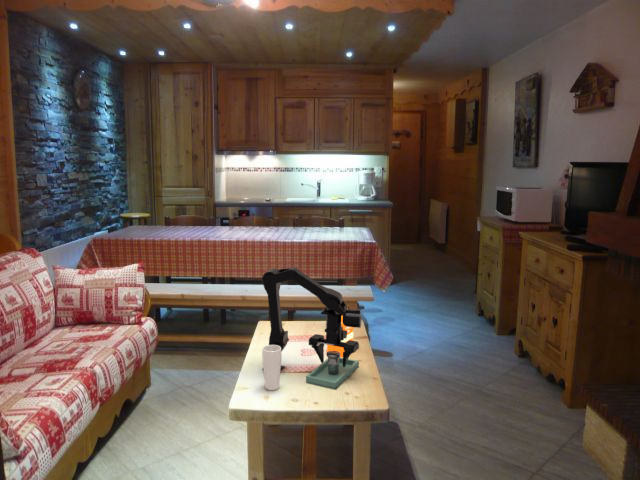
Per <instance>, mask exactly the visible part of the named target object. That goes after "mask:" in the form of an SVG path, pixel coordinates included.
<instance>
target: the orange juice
mask: <svg viewBox="0 0 640 480" xmlns="http://www.w3.org/2000/svg"><path fill="white" fill-rule="evenodd" d="M347 309H349V308H347ZM342 319H343V316H342V317H341V327H343V330H346V331H348V332H347V338H346V339H345V338H344V340H341V342H345V343H346V342H347V341H349V340H352V341H354V327H345V325H344V324H343V322H342ZM343 349H344V348H343V347H338V346H332V345H327V344H326V353H327V352H328V351H339V352H340V358H343V352H344V350H343Z"/></svg>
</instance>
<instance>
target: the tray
mask: <svg viewBox="0 0 640 480" xmlns="http://www.w3.org/2000/svg"><path fill="white" fill-rule="evenodd" d="M359 364H360V361H359V360H355V359H350V358H348V361H347V364H346V366H345V367H343V357H339V374H337V375H329V374H328V358H327V359H326V360H325V359H324V362H323V363H321V364H319V365H318V366H316V368H315V369H313V370H312V371H311V372H310V373H309V374H307V375H306V376H305V383H306V384H309V385H313V386H319V387H323V388H327V389H332V390H337V389H338V388H339V387H340V386H341V385H342V384H343V383H344V382H345V381H346V380H348V378H349V377H350V376H351V375H352V374H353V373H354V372H356V370H357V369H358V368H359V367H360V365H359Z"/></svg>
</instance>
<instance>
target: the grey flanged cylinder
mask: <svg viewBox="0 0 640 480" xmlns="http://www.w3.org/2000/svg"><path fill="white" fill-rule="evenodd" d="M326 357H327V359H328V374H329V375H337V374H339V357H340V352H339V351H328V352H327V351H326ZM340 358H341V357H340Z"/></svg>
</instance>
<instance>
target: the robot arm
mask: <svg viewBox="0 0 640 480" xmlns="http://www.w3.org/2000/svg"><path fill="white" fill-rule="evenodd" d="M290 280H291V281H293V282H295V283H296V284H297V285H299V286H300V287H302V288H303V289H305V290H307V291H308V292H310V293H311V294H312V295H314V296H315V297H316V298H318V299H319V300H320V302H321V303H322V304H323V305H324V308H323V309H322V311H321V312H320V314H321V315H326V317H325V318H326V319H325V320H326V321H325V324H326V325H325V329H324V333H325V336H324V335H323V334H317V333H315V334H313V335H312V336H311V337H309V339H308V345H309V346H311V348H312V349H313V350H314V351H315V352H316V354H317V355H316V356H318V358H319V360H320V363H321V364H322V363H323V362H324V361H325V357H324V356H325V355H324V347H325V345H326V346H327V345H332V346H338V347H343V348H344V349H343V350H344V352H343V357H342V358H343V367H345V366H346V364H347V361H348V359H350V358H349V357H350V355H352V354H355V353H356V352H357V351H358V350H359V349H360V344H359V341H355V340H353V341H352V340H349V341H347V342H346V343H345V342H341V340H344V338H345V339H346V338H347V332H348V331H346V330H343V327H341V317H342V316H343V319H342V322H343V324H344V325H345V327H353V328H357V329H361V327H362V321H363V319H362V318H363V317H362V313H361V312H362V310H361V308H356V309H355V308H348V305H347V304H346V302H345V301H344V298H343V295H342V294H341V292H339V291H337V290H334V289H333V288H330V287H326V286H323V285H322V284H320V283H319V282H317V281H316V280H314V279H313V278H312V277H310V276H308V275H307V274H305V273H303V272H302V271H301V270H299V268H297V267H289V268H281V269H277V268H274V267H273V268H271V269H269V270H267V271H266V272H264V274H262V277H261V281H262V284H263V288H264V290H265V292H266V294H267V303H268V311H269V321H270V333H269V338H268V345H278V346H280V347H281V353H282V352H283V350H284V349H285V348H286V346H287V345H288V342H289V341H290V338H289V331H288V330H284V327H283V322H282V321H283V320H282V319H283V318H282V311H281V309H282V308H281V300H280V299H281V298H280V290H281V285H282V283H283V282H287V281H290ZM347 308H348V309H347ZM284 368H285V366H284V365H281V370H280V371H282V370H283V369H284ZM262 371H263V372H264V370H263V368H262Z"/></svg>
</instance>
